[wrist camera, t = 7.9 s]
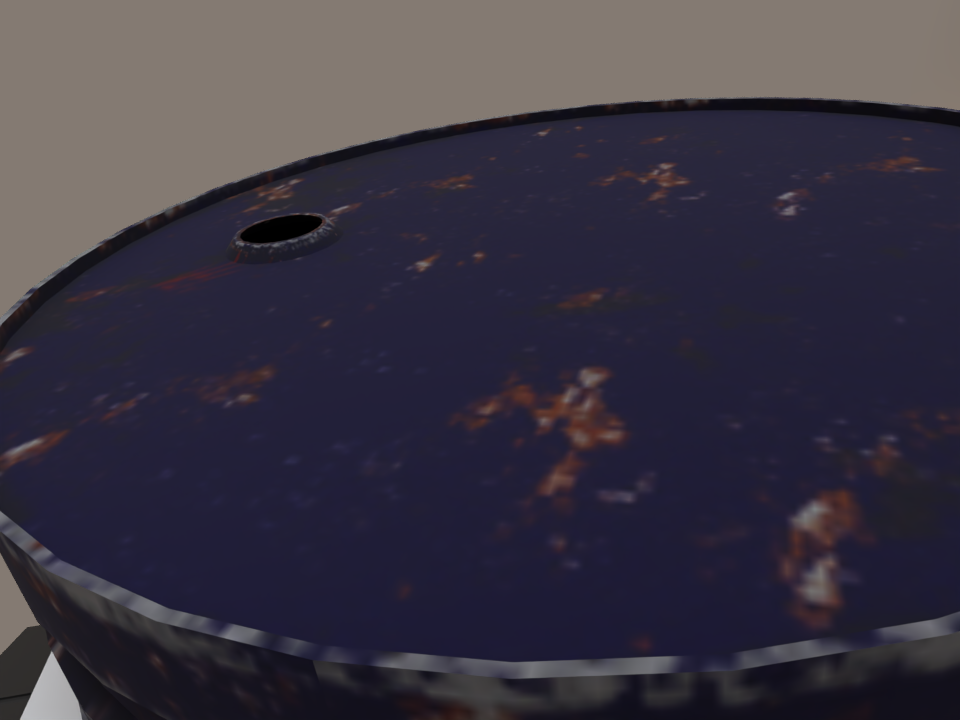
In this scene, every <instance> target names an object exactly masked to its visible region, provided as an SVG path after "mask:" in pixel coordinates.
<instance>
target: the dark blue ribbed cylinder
mask: <svg viewBox="0 0 960 720" xmlns="http://www.w3.org/2000/svg"><path fill="white" fill-rule="evenodd" d="M0 553H1V555H2V557H3V559H4V561H5V563H6V564H7V566H8V568H9V570H10V572H11V573H12V576H13V577H14V579H15V581H16V583H17V585H18V586H19V588H20V590H21V592H22V594H23V596H24V598H25V600H26V601H27V603H28V605H29V607H30V609H31V610H32V612H33V614H34V616H35V618H36V620H37V622H38V623H39V624H40V625H41V626H42V627H43V628H44V629H45V630H46V635H47V640H48V645H49V647H50V649H51V651H52V652H53V654H54V656H55V658H56V660H57V662H58V664H59V666H60V668H61V670H62V672H63V673H64V675H65V677H66V679H67V681H68V683H69V685H70V687H71V689H72V691H73V693H74V694H75V696H76V698H77V700H78V703H79V707H80V712H81V716H82V720H960V110H954V109H947V108H938V107H928V106H918V105H908V104H898V103H887V102H876V101H859V100H840V99H839V100H838V99H822V98H779V97H738V98H737V97H736V98H735V97H734V98H690V99H671V100H651V101H635V102H623V103H611V104H599V105H587V106H577V107H569V108H560V109H552V110H543V111H534V112H526V113H520V114H513V115H506V116H499V117H493V118H486V119H479V120H473V121H467V122H462V123H456V124H451V125H446V126H440V127H435V128H429V129H424V130H419V131H414V132H410V133H406V134H401V135H396V136H391V137H387V138H382V139H378V140H373V141H369V142H365V143H361V144H358V145H353V146H350V147H345V148H341V149H338V150H334V151H330V152H326V153H322V154H318V155H315V156H312V157H308V158H305V159H302V160H298V161H295V162H292V163H288V164H285V165H282V166H279V167H275V168H272V169H268V170H265V171H263V172H260V173H257V174H254V175H251V176H248V177H246V178H243V179H240V180H237V181H234V182H231V183H228V184H225V185H223V186H220V187H217V188H215V189H212V190H210V191H207V192H205V193H203V194H200V195H198V196H195V197H193V198H190V199H188V200H185V201H183V202H180V203H178V204H176V205H173V206H171V207H168V208H167V209H165V210H162V211H160V212H158V213H156V214H154V215H152V216H150V217H148V218H146V219H144V220H141V221H140V222H137V223H135V224H134V225H131V226H129V227H127V228H125V229H123V230H121V231H119V232H117V233H115V234H114V235H112V236H110V237H109V238H107V239H105V240H103V241H102V242H100V243H98V244H97V245H95V246H93V247H92V248H90V249H88V250H86V251H85V252H83V253H81V254H80V255H78V256H76V257H74V258H73V259H71V260H70V261H69V262H67V263H66V264H64V265H63V266H62V267H61V268H59V269H58V270H56V271H55V272H54V273H52V274H51V275H49V276H48V277H47V278H45V279H44V280H43V281H41V282H40V283H38V284H37V285H36V286H34V287H33V288H31V289H30V290H29V291H28V292H27V293H26V294H25V295H24V296H23V297H22V298H21V299H20V300H19V301H18V302H17V303H16V304H15V305H13V306H12V307H11V308H10V309H9V310H8V311H7V312H6V313H5V314H4V315H3V316H2V317H1V318H0Z"/></svg>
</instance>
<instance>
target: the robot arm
mask: <svg viewBox="0 0 960 720" xmlns="http://www.w3.org/2000/svg"><path fill="white" fill-rule="evenodd" d="M0 720H82V716H81V712H80V707H79V703H78V700H77V698H76V696H75V694H74V693H73V691H72V689H71V687H70V685H69V683H68V681H67V679H66V677H65V675H64V673H63V672H62V670H61V668H60V666H59V664H58V662H57V660H56V658H55V656H54V654H53V652H52V651H51V649H50V647H49V645H48V640H47V635H46V630H45V629H44V628H43V627H42V626H41V625H39V626H33V627H27V628H26V629H25V630H24V631H23V632H22V633H21V634H20V636H19V637H17V638H16V639H15V641H14V642H13V643H12V644H11V645H10V646H9V647H8V648H7V649H6V650H5V651H4V652H3V653H2V654H1V655H0Z"/></svg>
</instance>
